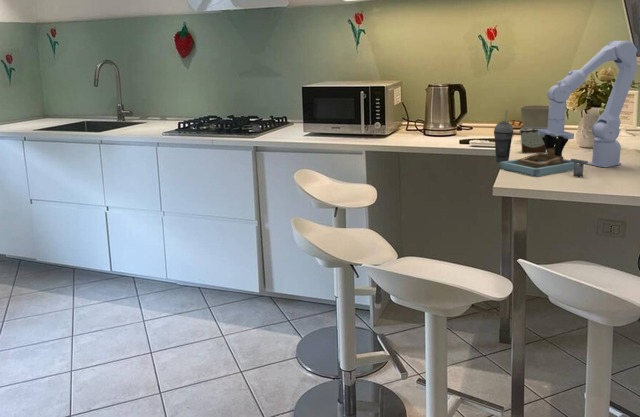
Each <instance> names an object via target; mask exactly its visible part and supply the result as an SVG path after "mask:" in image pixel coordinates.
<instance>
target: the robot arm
mask: <svg viewBox="0 0 640 417" xmlns="http://www.w3.org/2000/svg"><path fill="white" fill-rule="evenodd" d="M637 53H638V49H637V47H636V45H635V44H634V43H633V42H632V41H630V40H616V39H615V40H612V41H610V42H608V43H607V45H605V46H603V47H602V48H601V49H600V51H598V52H597V53H596V54H595V55H594V56H593V57H592V58H591V59H590V60H589V61H587V62H586V63H585V64H584V65H583V66H582V67H581V68H580V69H573V70H570V71H569V72H568V73H567V75H566V76H565V77H564V78H563V79H561V80H558V81H557V82H556V83H557V84H555V85H552V86H551V87H550V88H549V89H548V91H547V93H546V96H547V98H548V100H549V104H548V106H549V113H548V129H547V130H546V129H538V135H545V136H544V137H542V140H543V141H544V144H545V146H546V154H548V148H551V147H554V146H555V155H556V156H561V154H562V155H563V151H564V148H565V147H566V144H567V143H568V141H570V140H574V139H575V133H573V132H569V131H565V124H566V113H567V112H566V110H567V107H566V106H567V101H568V100H569V99H570V96H571V94H573V93H574V92H575V91H576V90H577V89H578V88H580V87H581V86H582V85H583V84H584V83H586V80H587V76H589V75H590V74H591V73H593V72H594V71H595V70H597V69H598V68H599V67H600V66H602V65H604V63H607V62H614V63H615V64H616V66H617V68H618V72H617V76H616V78H615V81H614V84H613V86H612V89H611V92H610V94H609V97H608V100H607V103H606V105H605V107H604V110H603V112H602V113H601V114H600V115H599V116H598V118H597V121H596V122H594V124H593V125H592V127H591V133H592V135H593V136H594V138H593V147H592V157H591V161H590V162H589V161H588V164H587V165H590V166H594V167H595V166H596V167H599V168H609V167H614V166H620V165H622V162H620V159H621V150H622V148H621V147H622V146H621V143H620V142H619V140H617V139H618V137H619V135H620V133H621V132H620V125H621V118H620V115H621V112H622V109H623V108H624V104H625V102H626V99H627V97H628V94H629V91H630V89H631V86H632V83H633V81H634V77H635V76H636V74H637V70H638V59H637V57H638V56H637Z"/></svg>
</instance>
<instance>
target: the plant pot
mask: <svg viewBox="0 0 640 417" xmlns="http://www.w3.org/2000/svg"><path fill="white" fill-rule="evenodd" d="M520 113H521V120H522V128H523V127H546V128H548V113H549V105H546V104H545V105H544V104H543V105H541V104H540V105H537V104H535V105H523V106H520Z"/></svg>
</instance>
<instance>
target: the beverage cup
mask: <svg viewBox="0 0 640 417" xmlns="http://www.w3.org/2000/svg"><path fill="white" fill-rule="evenodd" d="M507 118H508V109H506V110H505V117H504V121H502V120H501V121H499V122H498V123H497V124H496V125H495V127H494V131H493V136H494V145H495V146H494V148H495V150H494V151H495V161H496V163H497V164H500V162H504V161H510V154H511V147H512V146H511V145H512V139H513V136H514V128H513V125H512V124H511V123H510V122H509V121H507Z"/></svg>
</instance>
